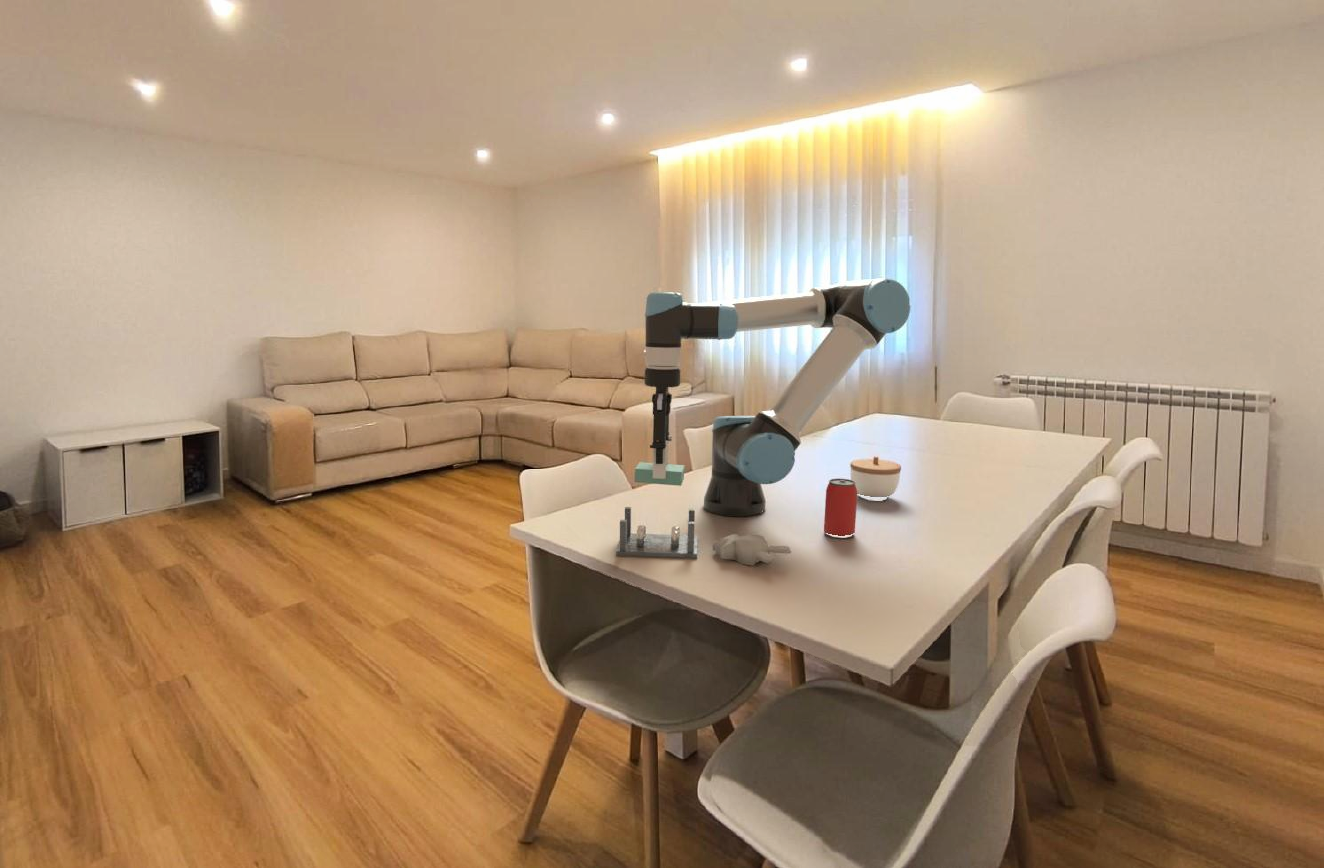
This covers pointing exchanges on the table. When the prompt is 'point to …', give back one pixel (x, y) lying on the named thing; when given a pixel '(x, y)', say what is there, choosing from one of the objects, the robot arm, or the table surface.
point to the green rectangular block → (672, 478)
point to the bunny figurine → (747, 549)
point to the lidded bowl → (875, 476)
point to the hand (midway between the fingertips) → (660, 473)
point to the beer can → (840, 507)
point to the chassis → (656, 541)
